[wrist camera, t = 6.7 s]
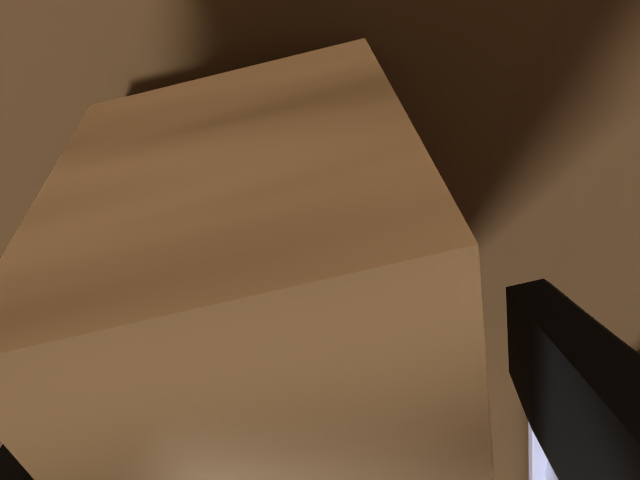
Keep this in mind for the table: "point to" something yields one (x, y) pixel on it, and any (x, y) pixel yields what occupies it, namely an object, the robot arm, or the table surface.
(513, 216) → the table surface
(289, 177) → the wooden block
